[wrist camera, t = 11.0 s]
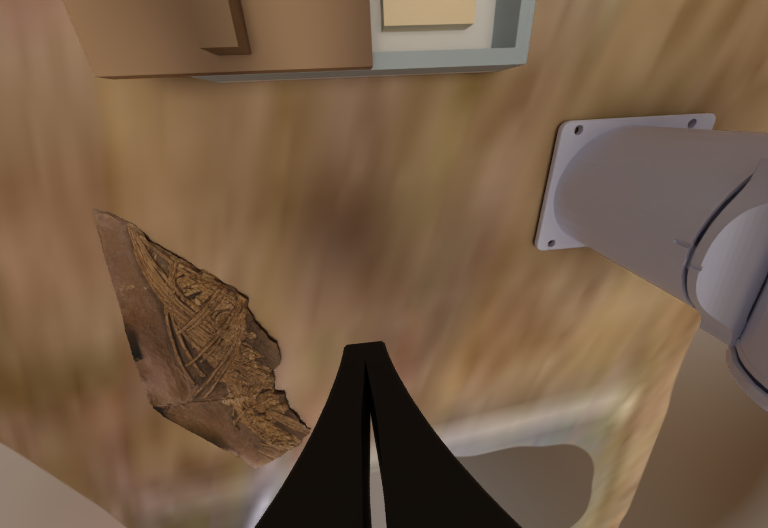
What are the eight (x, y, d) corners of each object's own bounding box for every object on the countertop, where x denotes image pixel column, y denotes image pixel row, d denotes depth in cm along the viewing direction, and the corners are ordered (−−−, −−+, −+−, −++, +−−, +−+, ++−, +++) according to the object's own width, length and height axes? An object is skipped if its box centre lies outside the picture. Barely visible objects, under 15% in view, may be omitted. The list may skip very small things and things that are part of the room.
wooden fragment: (319, 451, 29) (318, 463, 28) (207, 470, 29) (202, 482, 28) (223, 192, 17) (216, 197, 16) (28, 219, 17) (9, 226, 16)
